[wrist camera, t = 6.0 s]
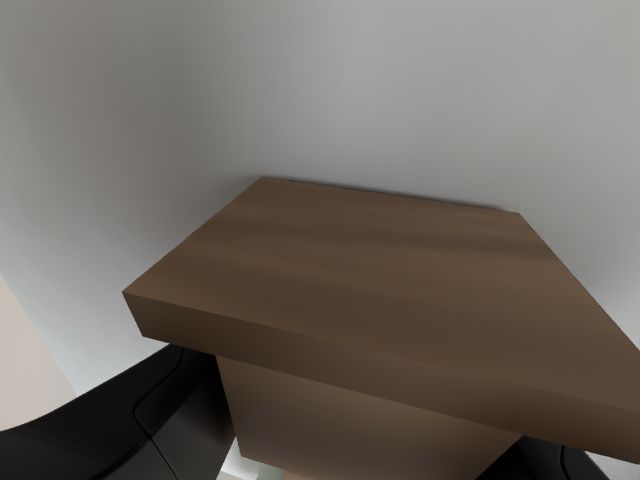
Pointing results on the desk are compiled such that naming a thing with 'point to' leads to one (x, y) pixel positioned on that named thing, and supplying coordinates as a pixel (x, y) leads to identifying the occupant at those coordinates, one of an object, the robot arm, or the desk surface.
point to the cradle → (270, 473)
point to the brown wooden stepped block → (391, 334)
